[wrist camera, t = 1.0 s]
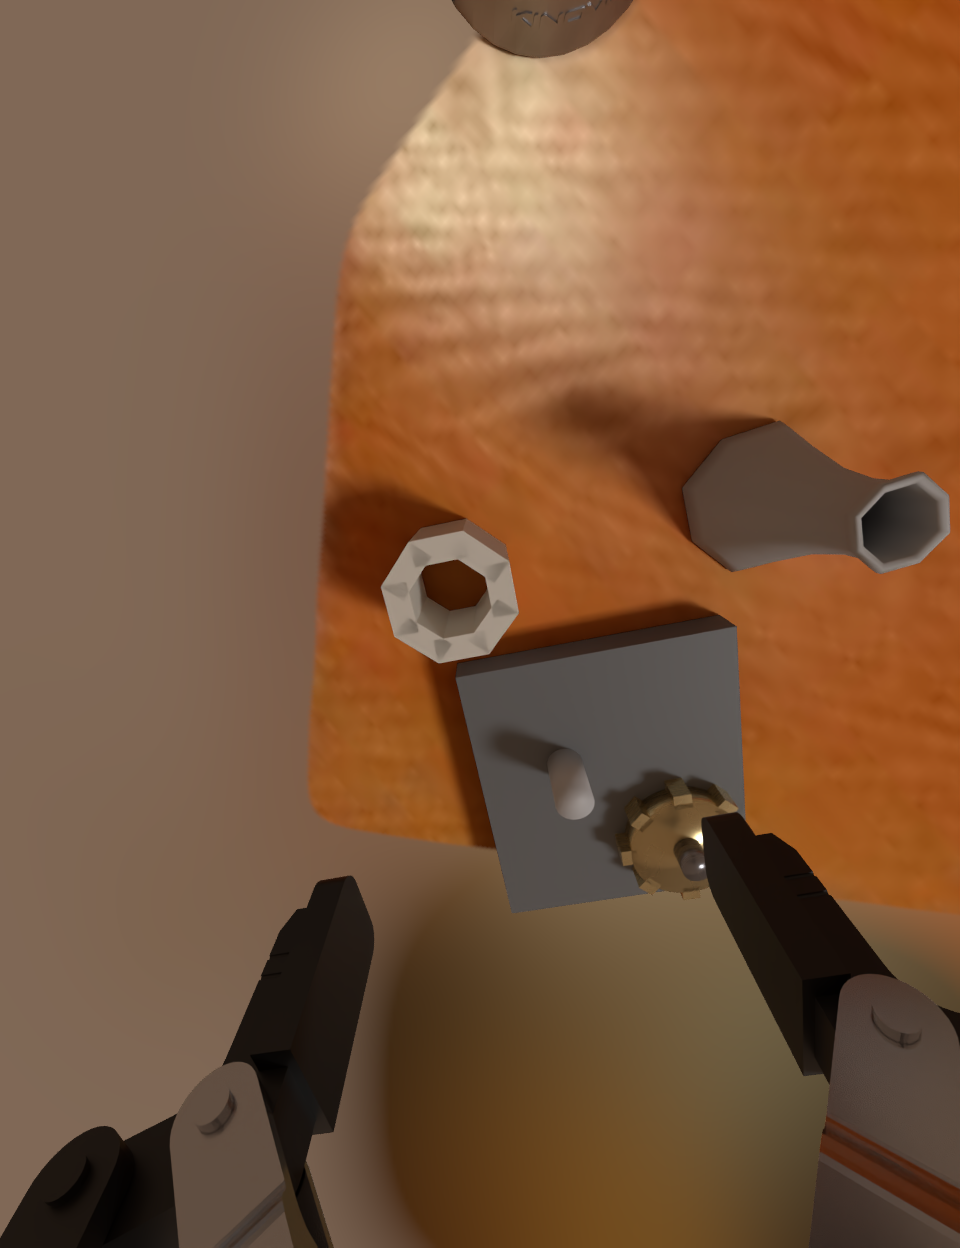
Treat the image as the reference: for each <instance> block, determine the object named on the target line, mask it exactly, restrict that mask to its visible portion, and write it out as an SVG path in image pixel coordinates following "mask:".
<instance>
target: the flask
mask: <svg viewBox="0 0 960 1248" xmlns="http://www.w3.org/2000/svg"><path fill="white" fill-rule="evenodd" d="M682 491H683V496H684V501H685V507H686V512H687V517H688V522H689V528H690V533H691V538H692V542H694V543H695V544H696V545H697V546H699V547H700V548H701V549H703V550H704V551H705V552H706V553H708V554H709V555H710V556H711V557H713V558H714V559H715V560H717V561H718V562H719V563H720V564H722V565H723V566H724V567H726V568H727V569H728V570H729V571H731V572H734V571H739V570H743V569H747V568H751V567H755V566H759V565H763V564H767V563H771V562H775V561H780V560H785V559H790V558H795V557H800V556H805V555H810V554H844V555H848V556H852V557H856V558H859V559H860V560H861V561H862V562H863V563H864V564H866V565H867V566H868V567H869V568H870V569H872V570H873V571H874V572H876V573H880V574H882V573H886V572H889V571H893V570H896V569H900V568H903V567H907V566H910V565H914V564H917V563H920V562H921V561H922V560H923V559H924V558H925V557H926V556H927V555H928V554H929V553H930V552H931V551H932V550H933V549H934V548H935V547H936V546H937V545H938V544H939V543H940V542H941V541H942V540H943V539H944V538H945V537H946V536H947V535H948V534H949V533H950V513H949V495H948V494H947V493H946V492H945V491H944V490H942V489H941V488H940V487H939V486H938V485H937V484H936V483H935V482H934V481H933V480H932V479H930V478H929V477H928V476H927V475H926V474H925V473H924V472H914V473H910V474H907V475H904V476H900V477H897V478H894V479H890V480H885V479H874V478H871V477H868V476H865V475H862V474H860V473H857V472H854V471H851V470H848V469H846V468H843V467H842V466H840V465H839V464H838V463H836V462H835V461H833V460H832V459H830V458H829V457H828V456H826V455H825V454H823V453H822V452H820V451H819V450H817V449H816V448H815V447H813V446H812V445H811V444H809V443H808V442H807V441H806V440H804V439H803V438H802V437H801V436H799V435H798V434H797V433H796V432H794V431H793V430H792V429H791V428H790V427H788V426H787V425H785V424H784V423H783V422H781V421H777V422H774V423H771V424H768V425H765V426H762V427H759V428H756V429H752V430H749V431H746V432H743V433H740V434H737V435H734V436H731V437H728V438H725V439H722V440H721V441H720V442H719V443H718V444H717V446H716V447H715V448H714V449H713V451H712V452H711V453H710V454H709V455H708V457H707V458H706V459H705V460H704V462H703V463H702V464H701V465H700V467H699V468H698V469H697V470H696V471H695V473H694V474H693V475H692V476H691V478H690V479H689V480H688V481H687V483H686V484H685V485H684V486H683V487H682Z"/></svg>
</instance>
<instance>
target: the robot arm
mask: <svg viewBox="0 0 960 1248" xmlns="http://www.w3.org/2000/svg"><path fill="white" fill-rule="evenodd" d="M452 1H453V4H454V5H455V7H456V8H457V9H458V11H459V12H460V13H461V14H462V16H463V17H464V18H465V19H466V20H467V22H468V23H469V24H470V25H471V26H472V28H473V29H474V30H476V31H477V32H478V33H480V34H481V35H482V36H483V37H485V38H486V39H487V40H489V41H490V42H491V43H492V44H494V45H496V46H498V47H500V48H503V49H505V50H507V51H510V52H512V53H514V54H517V55H524V56H531V57H538V58H542V57H550V56H558V55H564V54H567V53H569V52H571V51H574V50H576V49H579V48H581V47H583V46H586V45H588V44H589V43H591V42H592V41H593V40H595V39H596V38H597V37H599V36H600V35H602V34H603V33H604V32H606V31H607V30H608V29H609V28H610V27H611V26H612V25H613V24H614V23H615V22H616V21H617V20H618V18H619V17H620V16H621V15H622V14H623V13H624V12H625V11H626V10H627V9H628V7H629V6H630V4H631V3H632V1H633V0H452ZM701 828H702V838H703V849H704V859H705V869H706V875H707V879H708V883H709V886H710V889H711V892H712V895H713V897H714V899H715V901H716V903H717V905H718V908H719V909H720V911H721V914H722V916H723V917H724V919H725V921H726V923H727V925H728V927H729V929H730V931H731V933H732V935H733V937H734V939H735V941H736V943H737V945H738V947H739V949H740V951H741V953H742V955H743V957H744V959H745V961H746V963H747V965H748V967H749V969H750V971H751V973H752V975H753V977H754V979H755V981H756V983H757V985H758V987H759V989H760V991H761V993H762V995H763V997H764V998H765V1000H766V1003H767V1005H768V1007H769V1008H770V1010H771V1012H772V1014H773V1016H774V1018H775V1020H776V1022H777V1024H778V1026H779V1028H780V1030H781V1032H782V1034H783V1036H784V1038H785V1040H786V1042H787V1044H788V1046H789V1048H790V1050H791V1052H792V1054H793V1056H794V1058H795V1060H796V1062H797V1064H798V1066H799V1068H800V1070H801V1072H802V1074H803V1076H808V1075H816V1074H824V1076H825V1077H826V1079H827V1081H828V1083H829V1085H830V1087H829V1097H828V1106H827V1115H826V1122H825V1128H824V1129H823V1132H822V1138H821V1145H820V1153H819V1161H818V1171H817V1180H816V1189H815V1197H814V1207H813V1215H812V1224H811V1233H810V1242H809V1248H960V1013H957V1012H954V1011H951V1010H948V1009H945V1008H942V1007H940V1006H938V1005H936V1004H935V1003H934V1002H933V1001H931V999H929V998H928V997H927V996H926V995H924V994H923V993H922V992H920V991H919V990H917V989H916V988H914V987H912V986H910V985H908V984H907V983H904V982H902V981H900V980H898V979H897V978H896V977H895V976H894V975H893V974H892V973H891V972H890V971H889V970H888V969H887V967H886V966H885V965H884V964H883V962H882V961H881V960H880V959H879V957H878V956H877V955H876V953H875V952H874V951H873V949H872V948H871V947H870V946H869V944H868V943H867V942H866V940H865V939H864V938H863V936H862V935H861V934H860V932H859V931H858V930H857V929H856V927H855V926H854V925H853V923H852V922H851V921H850V920H849V918H848V917H847V916H846V914H845V913H844V912H843V910H842V909H841V908H840V907H839V905H838V904H837V903H836V901H835V900H834V899H833V897H832V896H831V895H829V894H828V892H827V890H826V888H825V887H824V886H823V884H822V883H821V882H820V880H819V879H818V878H817V877H816V876H814V874H813V871H812V870H811V869H810V867H809V866H808V865H807V864H806V862H805V861H804V860H803V858H802V857H801V856H800V854H799V853H798V852H797V851H796V850H795V849H794V848H793V847H791V846H790V845H788V844H787V843H785V842H784V841H782V840H781V839H780V838H778V837H777V836H775V835H774V834H772V833H768V834H762V835H756V836H755V834H754V833H753V831H752V830H751V829H750V827H749V826H748V824H747V823H746V821H745V820H744V818H743V817H742V816H741V815H740V814H739V813H738V812H732V813H726V814H720V815H714V816H708V817H703V818H702V820H701ZM373 950H374V931H373V925H372V922H371V919H370V916H369V914H368V911H367V909H366V906H365V904H364V901H363V898H362V896H361V893H360V891H359V888H358V886H357V883H356V881H355V879H354V878H353V877H352V876H344V877H339V878H333V879H327V880H321V881H319V882H318V883H317V884H316V885H315V888H314V890H313V893H312V895H311V898H310V900H309V903H308V906H307V908H303V909H297V910H296V912H295V913H294V914H293V915H292V916H291V918H290V919H289V920H288V922H287V923H286V924H285V925H284V927H283V928H282V929H281V930H280V932H279V934H278V937H277V939H276V942H275V944H274V946H273V949H272V951H271V953H270V959H269V960H267V963H266V965H265V967H264V970H263V972H262V975H261V976H262V977H261V980H259V982H258V984H257V986H256V989H255V991H254V993H253V996H252V998H251V1001H250V1003H249V1005H248V1008H247V1010H246V1012H245V1015H244V1017H243V1019H242V1022H241V1024H240V1026H239V1029H238V1031H237V1033H236V1036H235V1038H234V1041H233V1043H232V1045H231V1048H230V1050H229V1052H228V1055H227V1057H226V1059H225V1061H224V1063H223V1065H222V1066H221V1067H220V1068H218V1069H216V1070H214V1071H213V1072H212V1073H210V1074H209V1075H208V1076H206V1077H205V1078H204V1079H203V1080H202V1081H201V1082H200V1083H199V1084H198V1085H197V1086H196V1087H195V1088H194V1089H193V1090H192V1092H191V1093H190V1094H189V1096H188V1097H187V1098H186V1100H185V1101H184V1103H183V1104H182V1106H181V1108H180V1110H179V1112H178V1113H177V1114H175V1115H174V1116H172V1117H170V1118H168V1119H166V1120H164V1121H162V1122H160V1123H158V1124H156V1125H154V1126H152V1127H150V1128H148V1129H146V1130H144V1131H142V1132H140V1133H138V1134H137V1135H134V1136H132V1137H131V1138H129V1139H127V1140H125V1141H123V1140H122V1138H121V1137H120V1136H119V1134H118V1133H117V1132H116V1130H115V1129H113V1128H111V1127H108V1126H100V1127H96V1128H93V1129H90V1130H88V1131H86V1132H84V1133H82V1134H81V1135H79V1136H77V1137H76V1138H74V1139H73V1140H72V1141H70V1142H69V1143H68V1144H67V1145H65V1146H64V1147H63V1148H62V1149H61V1150H60V1151H59V1152H58V1153H57V1154H56V1155H55V1156H54V1157H53V1158H52V1159H51V1160H50V1161H49V1162H48V1163H47V1164H46V1166H45V1167H44V1168H43V1169H42V1170H41V1172H40V1173H39V1175H38V1176H37V1177H36V1179H35V1180H34V1181H33V1183H32V1185H31V1186H30V1188H29V1189H28V1191H27V1193H26V1194H25V1196H24V1198H23V1200H22V1202H21V1203H20V1205H19V1206H18V1208H17V1210H16V1212H15V1213H14V1215H13V1217H12V1219H11V1220H10V1222H9V1224H8V1226H7V1227H6V1229H5V1231H4V1232H3V1234H2V1236H1V1238H0V1248H334V1247H333V1244H332V1240H331V1237H330V1234H329V1231H328V1228H327V1224H326V1221H325V1218H324V1214H323V1211H322V1208H321V1205H320V1201H319V1198H318V1195H317V1192H316V1189H315V1186H314V1182H313V1179H312V1176H311V1173H310V1169H309V1166H308V1164H307V1162H306V1157H307V1153H308V1149H309V1145H310V1141H311V1137H312V1135H315V1134H323V1133H330V1132H333V1131H334V1127H335V1123H336V1118H337V1114H338V1109H339V1104H340V1100H341V1096H342V1091H343V1087H344V1082H345V1078H346V1072H347V1068H348V1064H349V1059H350V1055H351V1050H352V1046H353V1041H354V1037H355V1032H356V1028H357V1023H358V1019H359V1014H360V1010H361V1005H362V1001H363V996H364V992H365V987H366V983H367V978H368V973H369V969H370V965H371V960H372V955H373Z"/></svg>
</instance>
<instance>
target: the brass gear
mask: <svg viewBox="0 0 960 1248" xmlns="http://www.w3.org/2000/svg"><path fill="white" fill-rule="evenodd" d="M664 783H665V789H664V790H661V791H658V792H656V793H654V794H652V795H650V796H648V797H647V798H645V799H644V800H643V801H642V800H640V799H639V798H637V797H635V796H634V797H633V798H632V799H631V801H630V802H629V803H628V804H627V805H626V806H625V807H624V809H625V812H626V814H627V817H628V820H627V823H626V827H625V833H618V834H615V838H616V845H617V849H618V852H619V855H620V858H621V861H622V864H623V866H627V865H634V867H633V868H632V869H633V872H634V875H635V878H636V880H637V883H638V886H639V888H640V889H642V890H644V891H646V892H648V893H649V894H651V895H652V894H654V893H655V892H656V891H657V890H658V889H661V890H664V891H669V892H677V893H678V892H680V893H681V896H682V898H683V900H687V899H695V898H700V890H702V889H705V888H708V887H710V886H709V883H708V879H707V875H706V869H705V859H704V849H703V838H702V828H701V820H702V818H703V817H708V816H714V815H720V814H726V813H732V812H736V811H737V810H738V809H739V808H738V807H737V805H736V804H735V802H734V801H733V800H732V798H731V797H730V795H729V794H728V793H727V791H725V790H724V789H722V788H720V787H719V786H717V785H716V784H713V785H712V786H711V787H710V788H709V789H708V790H704V789H701V788H697V787H691V786H686V784H685V783H684V781H683V779H682V778H677V779H671V780H664ZM740 815H741V814H740ZM741 816H742V815H741ZM746 823H747V822H746ZM748 826H749V825H748ZM750 829H751V828H750ZM751 830H752V829H751ZM753 833H754V832H753Z"/></svg>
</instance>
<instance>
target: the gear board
mask: <svg viewBox="0 0 960 1248" xmlns="http://www.w3.org/2000/svg"><path fill="white" fill-rule="evenodd" d="M456 682H457V686H458V690H459V694H460V699H461V703H462V707H463V711H464V715H465V719H466V724H467V728H468V732H469V736H470V740H471V744H472V749H473V753H474V757H475V761H476V765H477V769H478V774H479V778H480V782H481V786H482V790H483V794H484V799H485V803H486V807H487V811H488V815H489V819H490V824H491V828H492V832H493V836H494V840H495V844H496V849H497V853H498V857H499V861H500V865H501V869H502V874H503V877H504V882H505V886H506V890H507V894H508V898H509V903H510V907H511V911H512V913H517V912H524V911H531V910H537V909H544V908H552V907H558V906H565V905H572V904H579V903H585V902H592V901H599V900H606V899H613V898H620V897H626V896H633V895H640V894H647V893H648V892H646V891H644V890H642V889H640V888H639V886H638V883H637V880H636V878H635V875H634V872H633V869H632V868H633V867H634V865H627V866H623V864H622V861H621V858H620V855H619V852H618V849H617V845H616V838H615V834H618V833H625V827H626V823H627V820H628V817H627V814H626V812H625V809H624V807H625V806H626V805H627V804H628V803H629V802H630V801H631V799H632V798H633V797H634V796H635V797H637V798H639V799H640V800H642V801H643V800H644V799H645V798H647V797H648V796H650V795H652V794H654V793H656V792H658V791H661V790H664V789H665V783H664V780H671V779H677V778H682V779H683V781H684V783H685V784H686V786H691V787H697V788H701V789H704V790H708V789H709V788H710V787H711V786H712V785H713V784H716V785H717V786H719V787H720V788H722V789H724V790H725V791H727V793H728V794H729V795H730V797H731V798H732V800H733V801H734V802H735V804H736V805H737V807H738V808H739V809H738V810H737V811H736V812H738V813H739V814H741V815H742V817H743V818H744V820H745V801H744V779H743V757H742V735H741V713H740V692H739V670H738V648H737V626H735V625H734V624H732V623H731V622H729V621H728V620H726V619H725V618H723V617H722V616H720V615H716V616H711V617H706V618H700V619H695V620H689V621H684V622H679V623H673V624H668V625H662V626H657V627H652V628H646V629H641V630H635V631H630V632H625V633H619V634H614V635H608V636H603V637H598V638H592V639H587V640H581V641H576V642H571V643H565V644H560V645H554V646H549V647H544V648H538V649H533V650H527V651H522V652H517V653H511V654H506V655H500V656H495V657H490V658H484V659H479V660H473V661H468V662H463V663H457V671H456ZM661 891H664V890H661V889H658V890H657V891H656V892H661Z"/></svg>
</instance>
